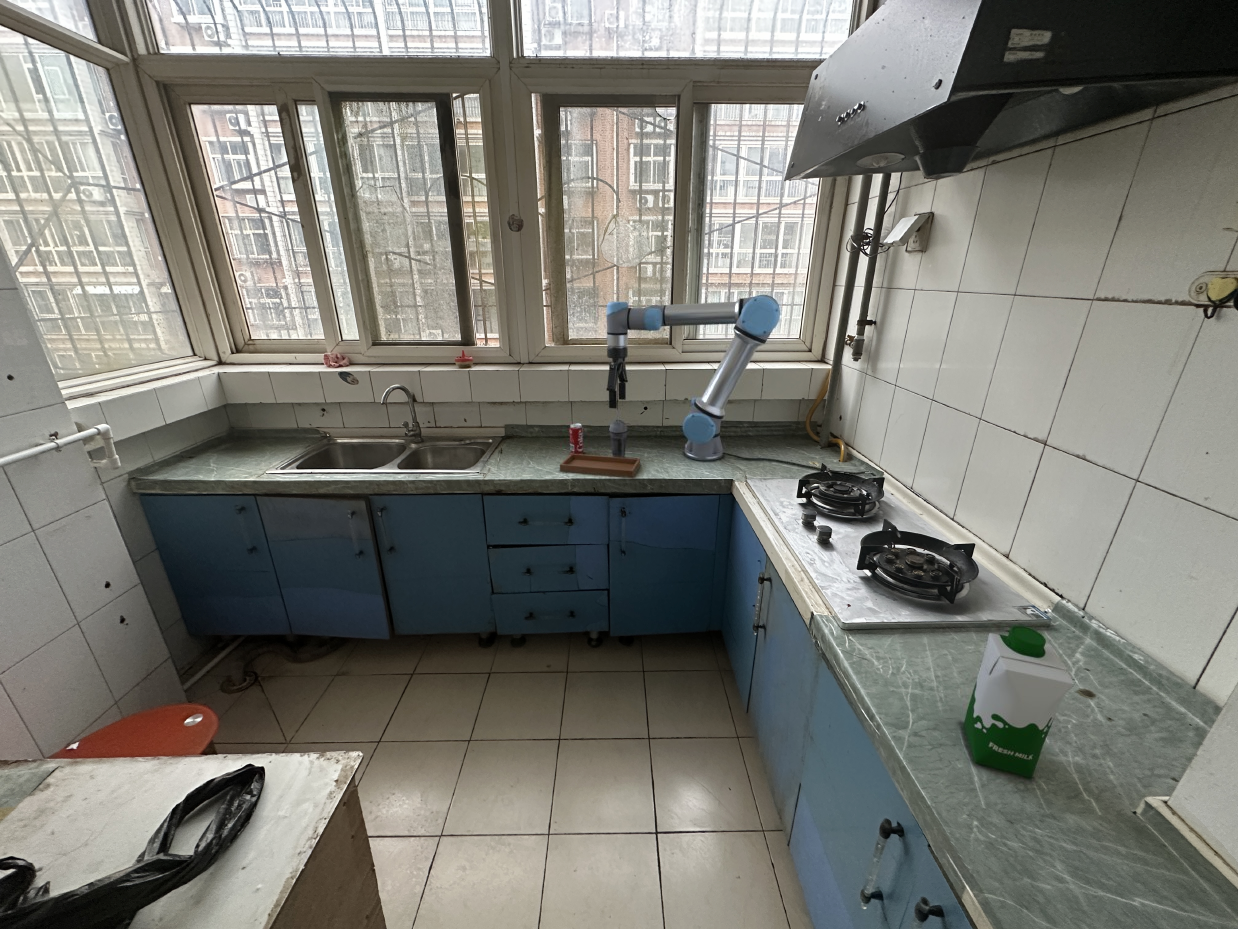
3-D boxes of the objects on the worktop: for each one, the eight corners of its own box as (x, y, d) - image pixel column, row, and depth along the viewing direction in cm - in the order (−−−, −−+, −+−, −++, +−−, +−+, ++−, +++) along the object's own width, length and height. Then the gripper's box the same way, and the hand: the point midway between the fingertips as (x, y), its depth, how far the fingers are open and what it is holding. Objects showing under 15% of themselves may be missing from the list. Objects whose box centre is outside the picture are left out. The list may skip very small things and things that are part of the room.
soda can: (581, 450, 205) (580, 422, 201) (584, 454, 200) (583, 426, 196) (569, 452, 203) (568, 423, 199) (572, 456, 199) (571, 427, 194)
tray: (640, 465, 189) (640, 458, 188) (632, 477, 177) (632, 471, 176) (571, 459, 195) (571, 453, 194) (560, 471, 184) (559, 464, 183)
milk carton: (1020, 735, 78) (1059, 631, 71) (1042, 787, 70) (1089, 676, 63) (955, 719, 81) (986, 617, 74) (969, 767, 73) (1006, 659, 66)
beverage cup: (628, 455, 199) (628, 406, 192) (627, 462, 192) (626, 411, 185) (610, 455, 199) (609, 406, 192) (608, 461, 193) (607, 411, 186)
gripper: (616, 341, 192) (616, 395, 200) (597, 351, 170) (598, 411, 177) (635, 342, 191) (634, 396, 198) (618, 351, 168) (618, 412, 176)
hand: (617, 403), depth 188 cm, fingers open, 13 cm apart
